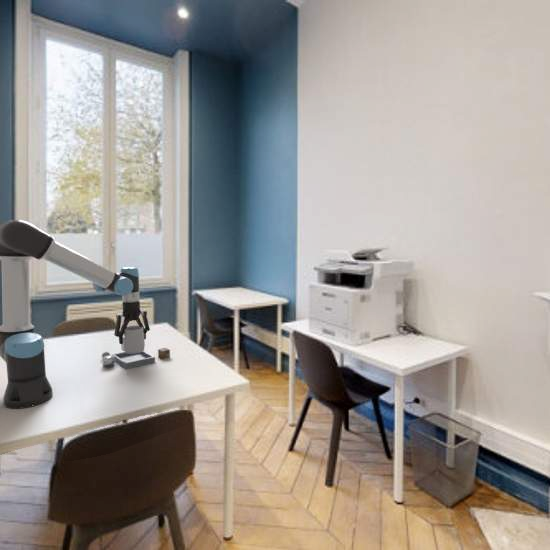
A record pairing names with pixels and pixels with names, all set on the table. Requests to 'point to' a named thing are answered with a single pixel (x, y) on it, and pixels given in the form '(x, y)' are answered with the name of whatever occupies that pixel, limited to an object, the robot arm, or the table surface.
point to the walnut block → (163, 353)
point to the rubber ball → (105, 354)
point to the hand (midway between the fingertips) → (133, 348)
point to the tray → (133, 359)
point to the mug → (134, 339)
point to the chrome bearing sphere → (108, 361)
